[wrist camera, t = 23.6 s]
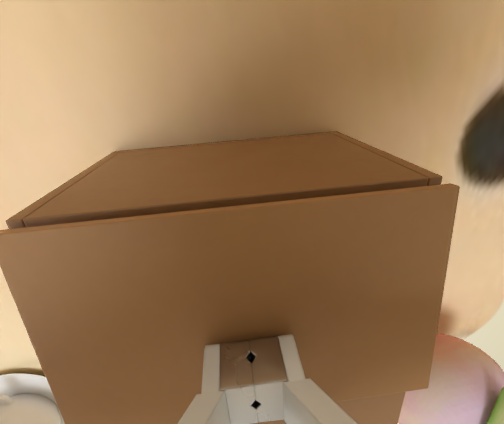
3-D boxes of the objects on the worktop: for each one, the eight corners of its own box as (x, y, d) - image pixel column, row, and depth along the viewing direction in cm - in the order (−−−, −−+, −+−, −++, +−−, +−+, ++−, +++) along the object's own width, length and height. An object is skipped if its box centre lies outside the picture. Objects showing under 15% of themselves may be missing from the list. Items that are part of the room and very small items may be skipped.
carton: (113, 151, 17) (-16, 233, 8) (337, 131, 18) (462, 184, 9) (168, 346, 24) (135, 509, 15) (325, 325, 25) (387, 468, 16)
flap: (-3, 229, 8) (-14, 235, 8) (450, 183, 9) (460, 185, 9) (77, 430, 11) (71, 442, 10) (422, 380, 12) (428, 388, 11)
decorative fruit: (367, 311, 25) (449, 442, 16) (455, 298, 25) (584, 419, 16) (359, 379, 29) (422, 514, 20) (435, 367, 29) (531, 494, 20)
